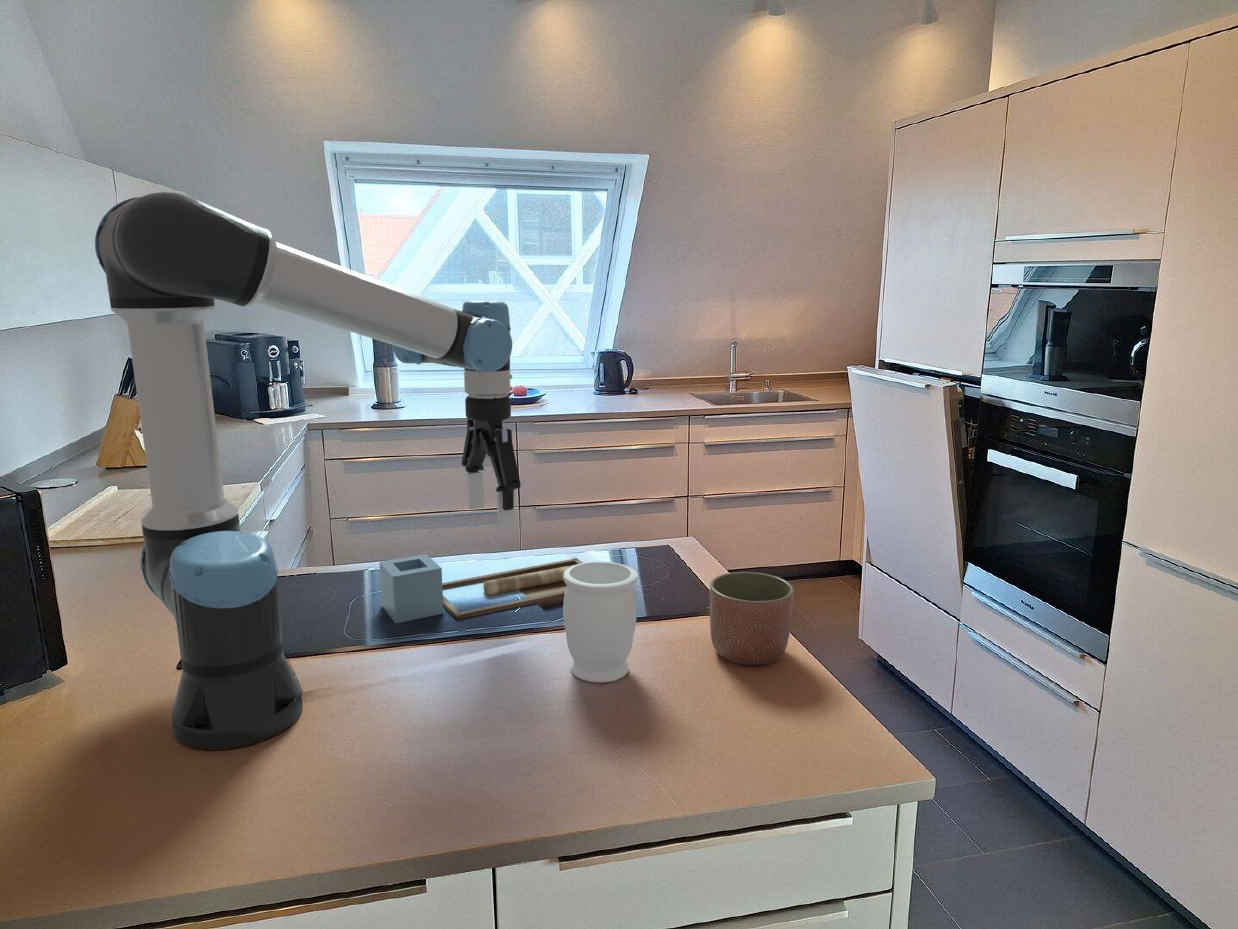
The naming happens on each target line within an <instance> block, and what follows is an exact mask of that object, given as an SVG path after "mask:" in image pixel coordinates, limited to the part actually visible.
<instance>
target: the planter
mask: <svg viewBox="0 0 1238 929" xmlns="http://www.w3.org/2000/svg"><path fill="white" fill-rule="evenodd" d="M794 591H795V590H794V587H793V585H792V584H791V583H790V582H788V581H787V580H785V579H783V578H781V577H779V576H776V575H771V574H769V573H762V572H754V571H753V572H752V571H736V572H734V571H733V572H728V573H724V574H720V575H718V576H715V577H714V578H713V579H712V580H711V581H710V583H709V623H710V624H709V625H710V626H709V628H710V637H711V642H712V645H713V648H714V649H715V651H716V652H717V654H719V655H720V656H721V657H722V658H724V659H726V660H728V661H729V662H733V663H737V664H740V665H745V666H747V665H748V666H762V665H766V664H770V663H774V662H775V661H777V660H778V659H780V658H781V657H783V655H784V653H785V652H786V649H787V646H788V643H789V638H790V632H791V631H790V630H791V625H792V624H791V622H792V614H793V604H794Z"/></svg>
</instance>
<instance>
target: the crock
mask: <svg viewBox="0 0 1238 929" xmlns="http://www.w3.org/2000/svg"><path fill="white" fill-rule="evenodd" d="M379 577H380V579H379V580H380V593H381V594H380V595H381V607H382V608H383V610H384V611H385V612H386V613H387V615H388V616H389V617H390V618H391V619H392V621H393V622H394V624H398V623H405V622H409V621H415V620H420V619H423V618H428V617H432V616H433V617H434V616H438V615H444V613H445V612H444V606H443V596H444V593H443V590H444V589H442V583H443V568H442V567H441V566H440V565H439V564H438V563H437V562H435V561H434V560H433V559H432V558H431V556H429V555H428V554H427V553H425V554H424V553H423V554H418V555H412V556H407V557H401V558H395V559H389V560H388V559H387V560H383V561H379Z"/></svg>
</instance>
